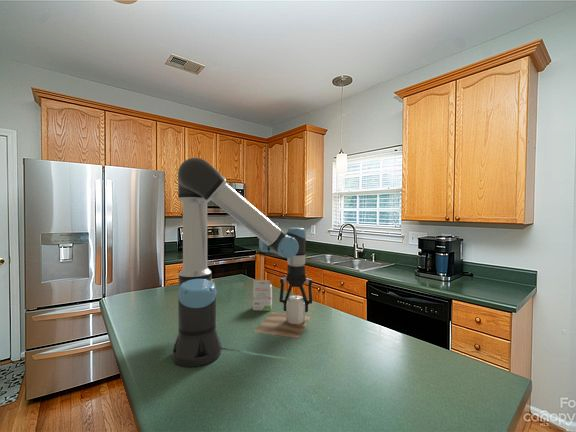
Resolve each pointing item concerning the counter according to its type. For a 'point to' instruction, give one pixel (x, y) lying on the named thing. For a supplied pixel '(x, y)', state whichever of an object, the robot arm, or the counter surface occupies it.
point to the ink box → (262, 295)
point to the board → (281, 326)
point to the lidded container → (295, 309)
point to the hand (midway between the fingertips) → (295, 318)
